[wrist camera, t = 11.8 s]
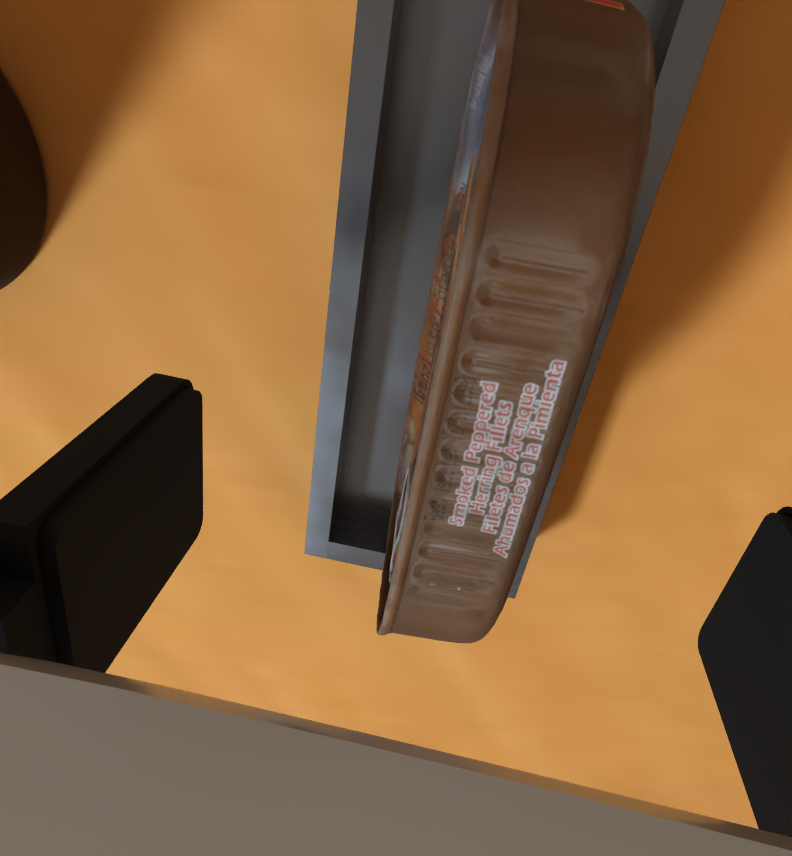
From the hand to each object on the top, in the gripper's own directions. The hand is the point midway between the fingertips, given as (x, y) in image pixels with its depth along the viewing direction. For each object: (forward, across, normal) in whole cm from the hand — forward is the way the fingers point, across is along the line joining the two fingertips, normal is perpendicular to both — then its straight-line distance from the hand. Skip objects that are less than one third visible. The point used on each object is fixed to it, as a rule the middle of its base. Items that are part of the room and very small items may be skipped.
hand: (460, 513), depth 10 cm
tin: (+10, 0, 0) cm, 10 cm away
